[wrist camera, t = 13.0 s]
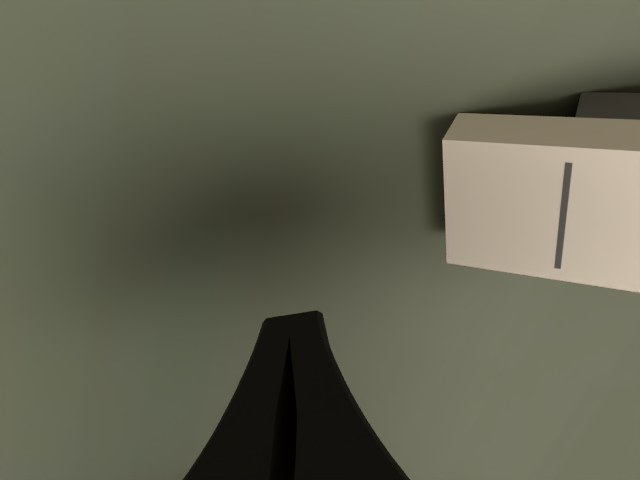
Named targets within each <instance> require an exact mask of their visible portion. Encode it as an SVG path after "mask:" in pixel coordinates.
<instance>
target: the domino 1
mask: <svg viewBox="0 0 640 480" xmlns="http://www.w3.org/2000/svg"><path fill="white" fill-rule="evenodd" d="M442 146H443V173H444V200H445V228H446V255H447V263H450V264H457V265H463V266H470V267H476V268H483V269H489V270H496V271H502V272H509V273H515V274H522V275H529V276H535V277H542V278H548V279H555V280H561V281H568V282H574V283H581V284H587V285H594V286H601V287H607V288H614V289H620V290H627V291H633V292H640V120H632V119H606V118H579V117H553V116H526V115H499V114H473V113H458V114H457V116H456V118H455V119H454V121H453V123H452V124H451V126H450V128H449V129H448V131H447V133H446V134H445V136H444V138H443V139H442Z"/></svg>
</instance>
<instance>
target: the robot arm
mask: <svg viewBox="0 0 640 480" xmlns="http://www.w3.org/2000/svg"><path fill="white" fill-rule="evenodd" d="M183 480H410V479H409V478H408V477H407V475H406V474H405V473H404V472H403V470H402V469H401V468H400V466H399V465H398V464H397V463H396V461H395V460H394V459H393V457H392V456H391V455H390V453H389V452H388V451H387V449H386V448H385V446H384V445H383V443H382V442H381V441H380V439H379V438H378V436H377V435H376V433H375V432H374V430H373V429H372V427H371V426H370V424H369V423H368V421H367V419H366V418H365V416H364V414H363V413H362V411H361V409H360V408H359V406H358V404H357V402H356V401H355V399H354V397H353V395H352V393H351V392H350V390H349V388H348V386H347V384H346V382H345V380H344V378H343V376H342V374H341V372H340V369H339V367H338V365H337V363H336V361H335V358H334V356H333V353H332V351H331V348H330V345H329V341H328V337H327V332H326V328H325V323H324V318H323V314H322V313H321V312H319V311H310V312H304V313H297V314H291V315H285V316H278V317H272V318H266V319H265V321H264V322H263V324H262V327H261V330H260V333H259V336H258V339H257V342H256V345H255V347H254V350H253V352H252V355H251V357H250V360H249V362H248V365H247V367H246V369H245V371H244V374H243V376H242V378H241V380H240V382H239V385H238V387H237V389H236V391H235V393H234V395H233V397H232V399H231V401H230V403H229V405H228V407H227V409H226V411H225V413H224V414H223V416H222V418H221V420H220V422H219V424H218V426H217V427H216V429H215V431H214V433H213V434H212V436H211V438H210V439H209V441H208V443H207V444H206V446H205V447H204V449H203V451H202V452H201V454H200V455H199V457H198V458H197V460H196V461H195V463H194V464H193V466H192V467H191V469H190V470H189V472H188V473H187V474H186V476H185V477H184V479H183Z"/></svg>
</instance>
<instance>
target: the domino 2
mask: <svg viewBox="0 0 640 480" xmlns="http://www.w3.org/2000/svg"><path fill="white" fill-rule="evenodd" d="M576 117H579V118H606V119H632V120H640V93H609V92H581V95H580V100H579V104H578V108H577V112H576Z"/></svg>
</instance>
